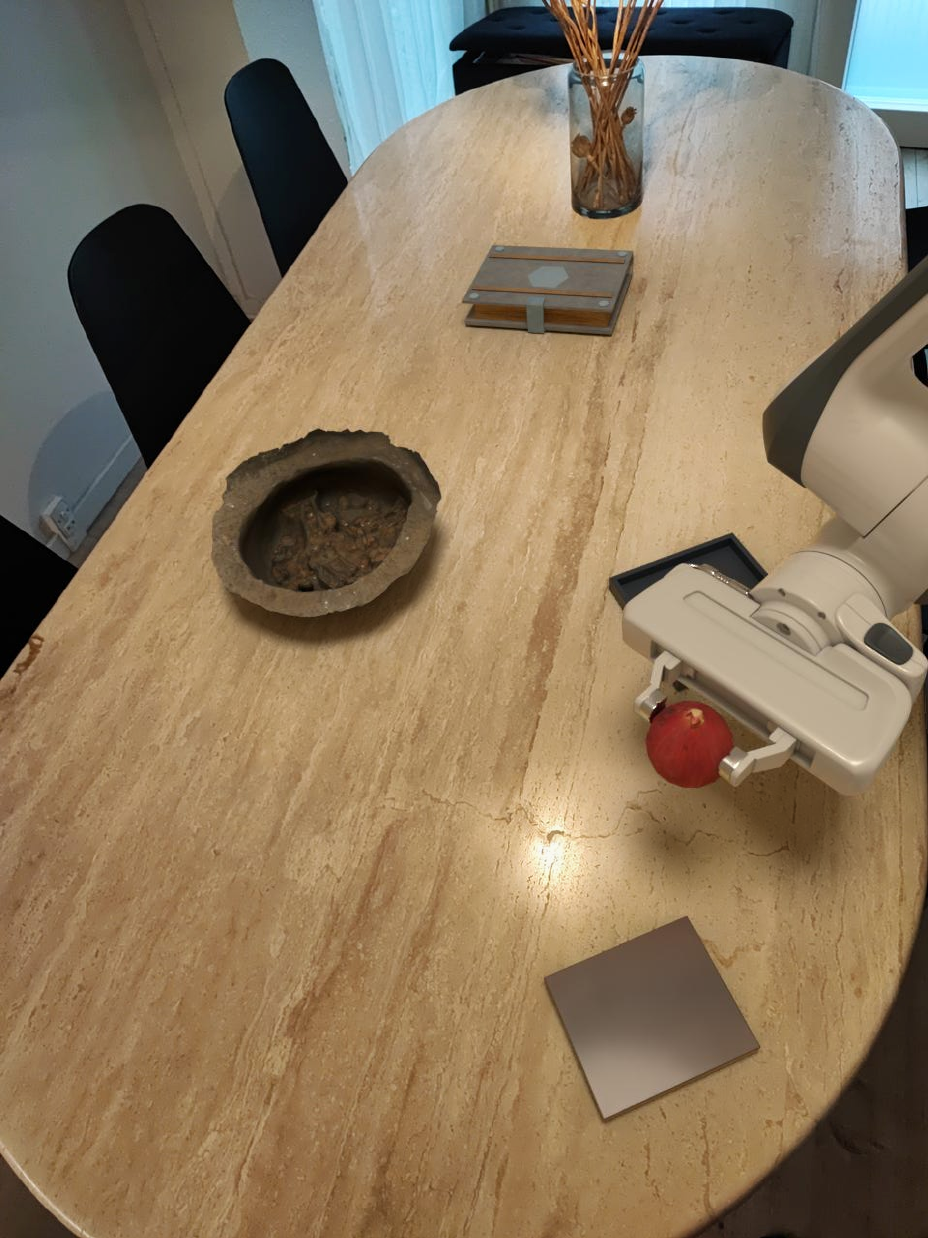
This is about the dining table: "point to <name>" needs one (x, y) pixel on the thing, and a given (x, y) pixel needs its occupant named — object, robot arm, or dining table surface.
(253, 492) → the stone bowl
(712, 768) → the onion
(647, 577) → the tray
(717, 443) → the dining table surface
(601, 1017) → the board
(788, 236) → the dining table surface
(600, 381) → the dining table surface
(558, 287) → the book
